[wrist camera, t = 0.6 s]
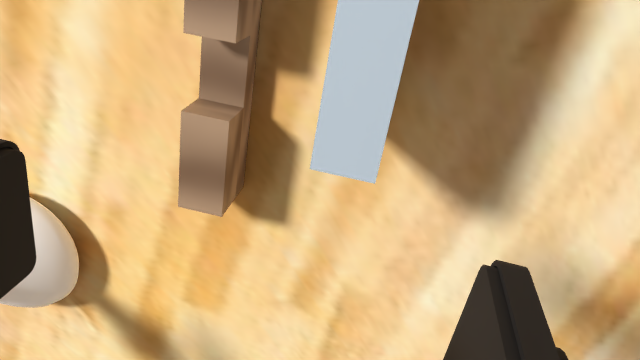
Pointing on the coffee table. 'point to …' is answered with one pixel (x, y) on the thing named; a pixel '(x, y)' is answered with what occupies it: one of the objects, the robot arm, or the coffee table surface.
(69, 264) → the flower in vase
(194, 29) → the brown notched bar
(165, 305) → the coffee table surface
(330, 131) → the blue grey notched plate
